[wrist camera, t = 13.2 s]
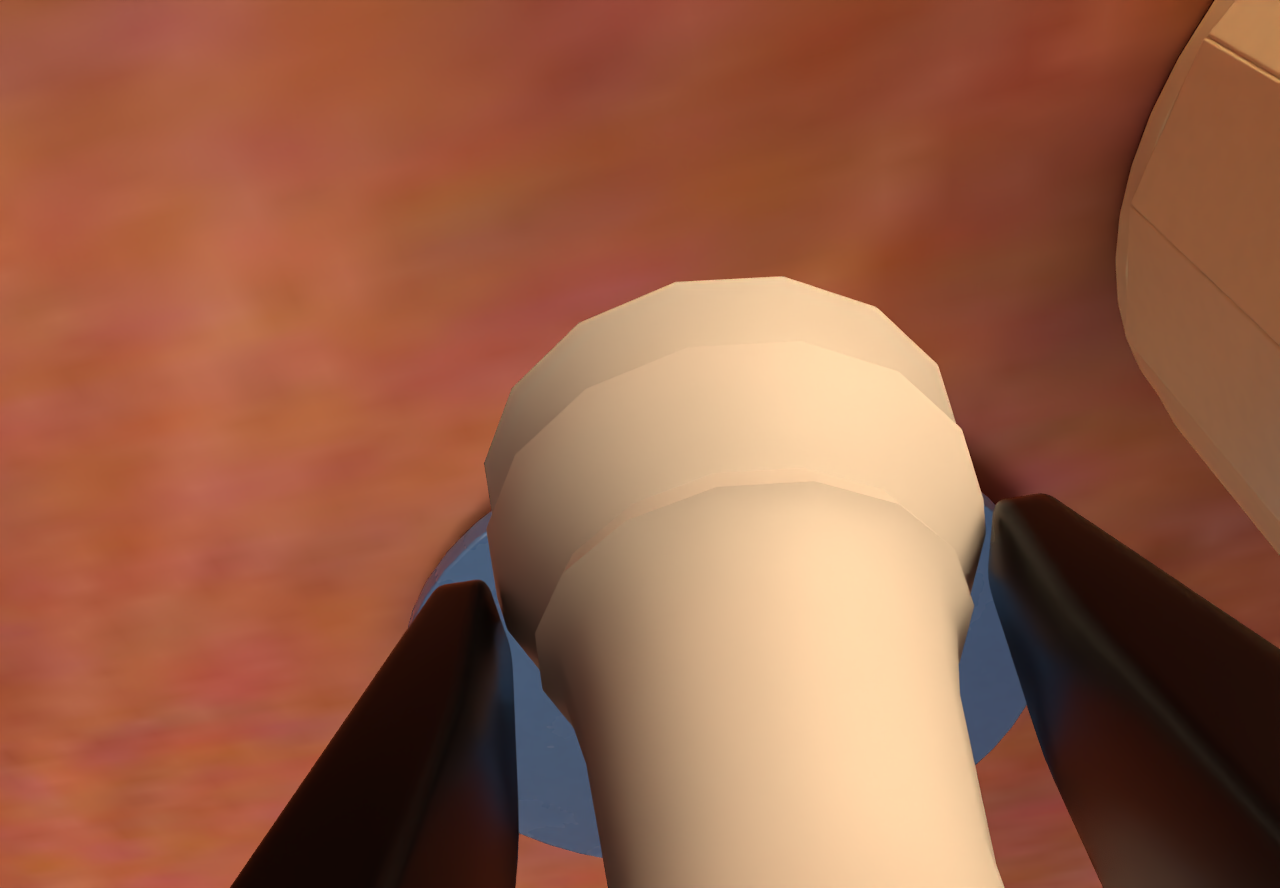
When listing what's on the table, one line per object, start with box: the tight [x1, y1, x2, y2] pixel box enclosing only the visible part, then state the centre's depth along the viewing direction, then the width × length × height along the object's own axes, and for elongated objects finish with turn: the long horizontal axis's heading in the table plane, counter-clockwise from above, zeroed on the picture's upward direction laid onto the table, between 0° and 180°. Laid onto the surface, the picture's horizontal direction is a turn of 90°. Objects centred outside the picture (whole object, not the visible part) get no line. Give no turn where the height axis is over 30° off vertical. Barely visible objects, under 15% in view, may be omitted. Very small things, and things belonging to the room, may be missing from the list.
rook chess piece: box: [484, 276, 1004, 888], centre depth 7 cm, size 4×4×8 cm
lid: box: [408, 492, 1027, 858], centre depth 22 cm, size 15×15×6 cm
